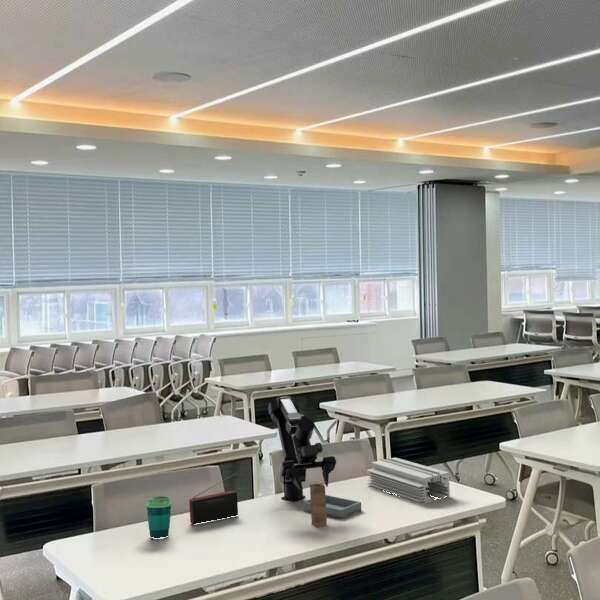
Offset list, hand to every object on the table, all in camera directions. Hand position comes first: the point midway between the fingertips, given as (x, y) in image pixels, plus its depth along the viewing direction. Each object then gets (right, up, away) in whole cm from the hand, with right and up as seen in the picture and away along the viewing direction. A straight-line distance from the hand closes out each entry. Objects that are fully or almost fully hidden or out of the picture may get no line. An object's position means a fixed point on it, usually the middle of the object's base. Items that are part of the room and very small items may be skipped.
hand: (314, 487), depth 262 cm
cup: (-50, -14, -8) cm, 52 cm away
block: (+2, -11, -4) cm, 12 cm away
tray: (+7, -10, +11) cm, 16 cm away
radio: (-33, -13, +7) cm, 36 cm away
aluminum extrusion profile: (+35, -9, +30) cm, 47 cm away
